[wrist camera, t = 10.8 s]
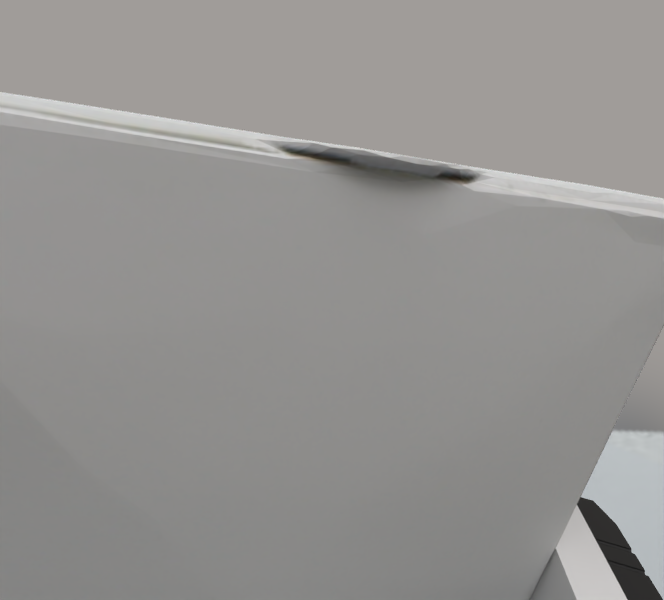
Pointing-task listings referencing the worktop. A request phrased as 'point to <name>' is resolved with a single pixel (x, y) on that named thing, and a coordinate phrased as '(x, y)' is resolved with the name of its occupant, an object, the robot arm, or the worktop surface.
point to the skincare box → (299, 362)
